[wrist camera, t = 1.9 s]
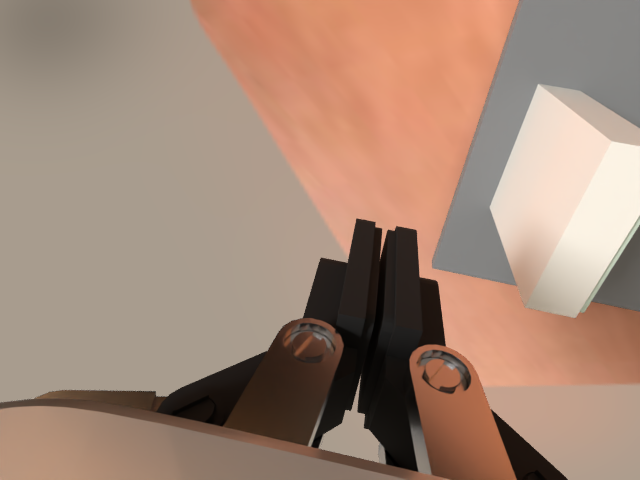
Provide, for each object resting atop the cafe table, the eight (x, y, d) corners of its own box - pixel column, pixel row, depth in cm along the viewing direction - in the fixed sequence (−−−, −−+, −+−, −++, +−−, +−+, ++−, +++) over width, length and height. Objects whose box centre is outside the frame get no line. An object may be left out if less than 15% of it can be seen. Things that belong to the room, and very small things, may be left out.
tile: (586, 91, 20) (688, 154, 13) (529, 215, 24) (583, 319, 17) (538, 83, 21) (611, 141, 13) (489, 207, 24) (524, 307, 17)
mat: (873, 5, 17) (891, 6, 17) (649, 306, 27) (655, 314, 26) (533, -43, 19) (538, -44, 18) (431, 261, 28) (432, 268, 27)
